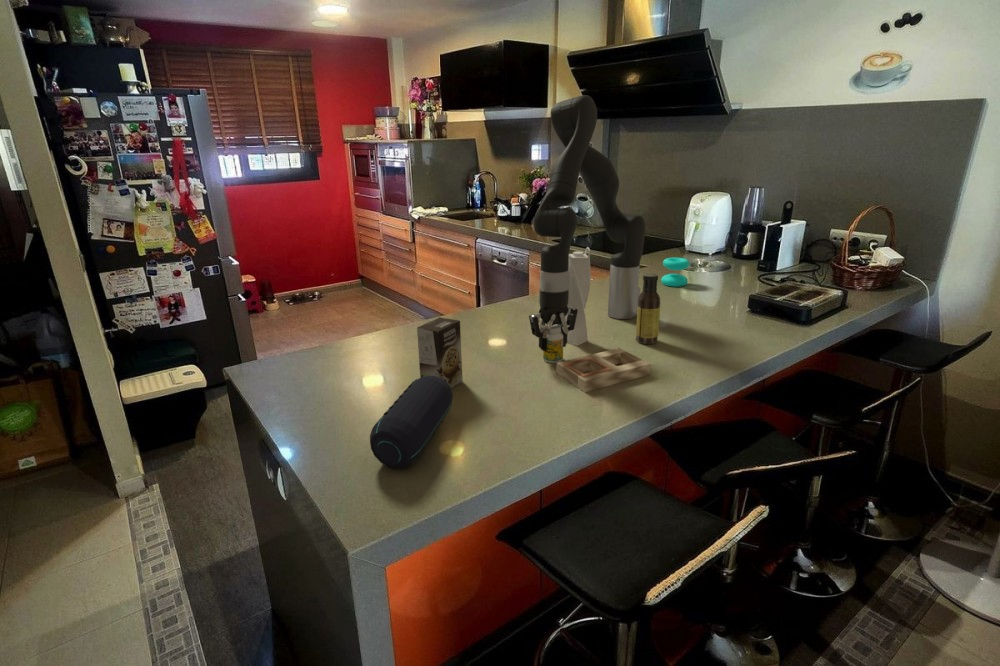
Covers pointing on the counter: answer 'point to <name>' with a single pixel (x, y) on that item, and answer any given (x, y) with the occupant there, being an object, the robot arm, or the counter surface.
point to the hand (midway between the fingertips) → (553, 347)
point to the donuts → (675, 279)
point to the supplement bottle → (554, 345)
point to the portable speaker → (411, 422)
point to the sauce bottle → (648, 311)
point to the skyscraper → (578, 294)
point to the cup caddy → (602, 369)
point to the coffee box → (441, 350)
